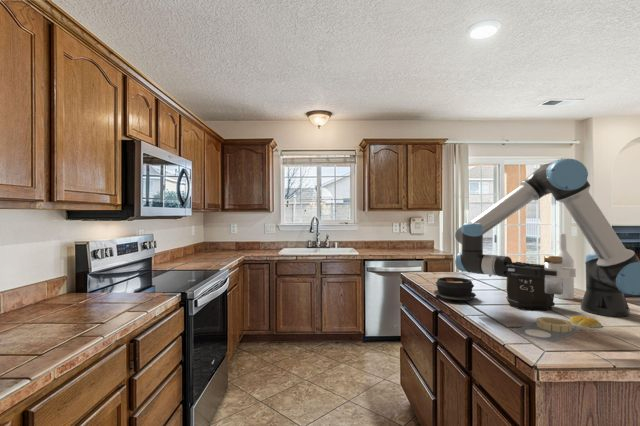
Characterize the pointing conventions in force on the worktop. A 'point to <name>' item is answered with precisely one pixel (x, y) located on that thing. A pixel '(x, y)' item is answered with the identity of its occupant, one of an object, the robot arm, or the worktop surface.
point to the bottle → (567, 263)
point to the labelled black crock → (528, 293)
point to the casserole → (454, 288)
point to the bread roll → (585, 321)
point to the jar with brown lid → (553, 283)
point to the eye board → (548, 329)
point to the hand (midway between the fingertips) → (572, 273)
